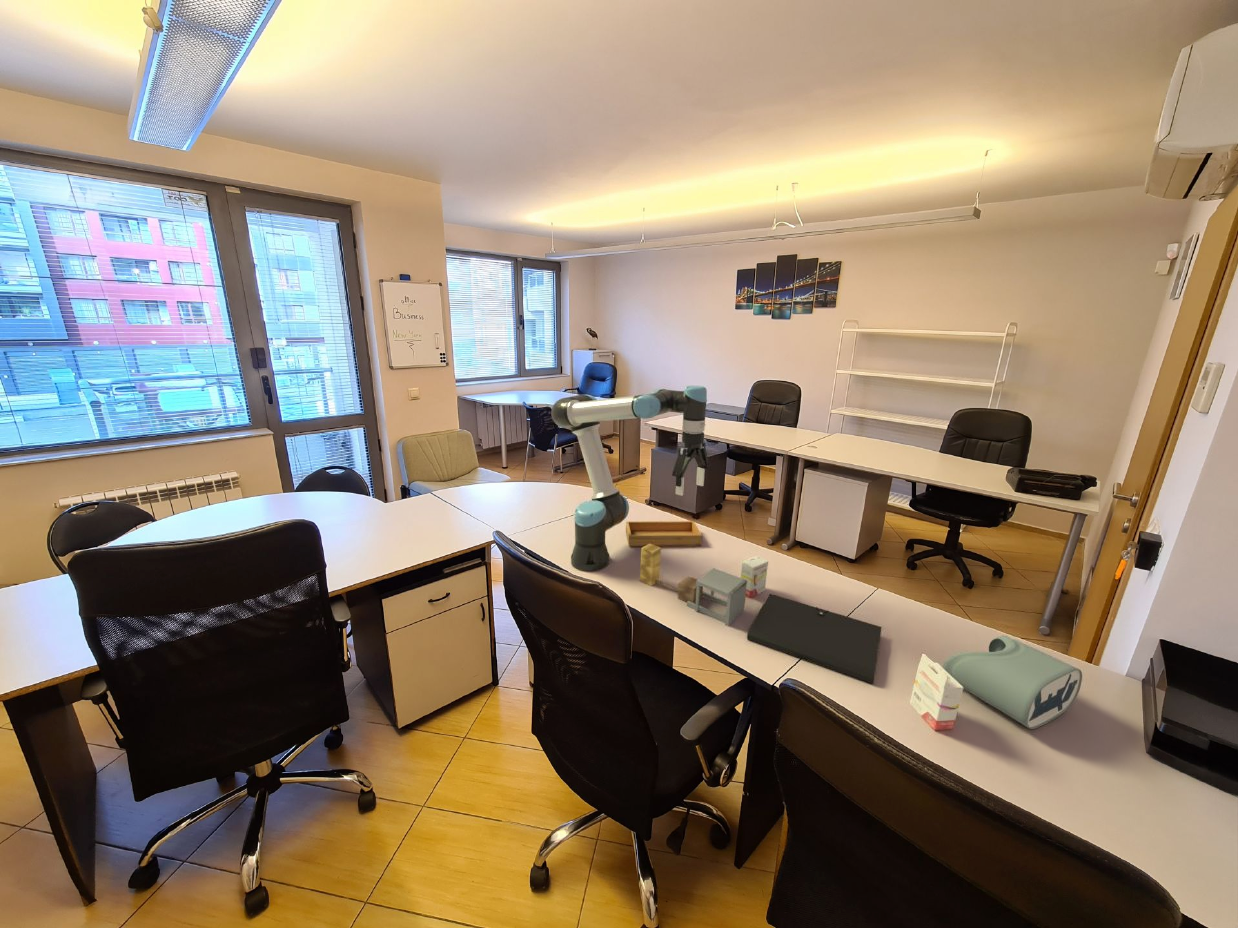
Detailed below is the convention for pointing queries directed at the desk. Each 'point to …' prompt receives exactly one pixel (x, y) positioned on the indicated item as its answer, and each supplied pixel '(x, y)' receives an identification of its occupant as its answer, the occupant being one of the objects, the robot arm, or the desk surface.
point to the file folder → (818, 636)
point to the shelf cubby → (725, 586)
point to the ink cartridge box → (936, 695)
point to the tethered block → (652, 574)
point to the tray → (663, 533)
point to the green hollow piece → (1017, 680)
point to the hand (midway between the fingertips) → (689, 489)
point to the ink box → (754, 575)
